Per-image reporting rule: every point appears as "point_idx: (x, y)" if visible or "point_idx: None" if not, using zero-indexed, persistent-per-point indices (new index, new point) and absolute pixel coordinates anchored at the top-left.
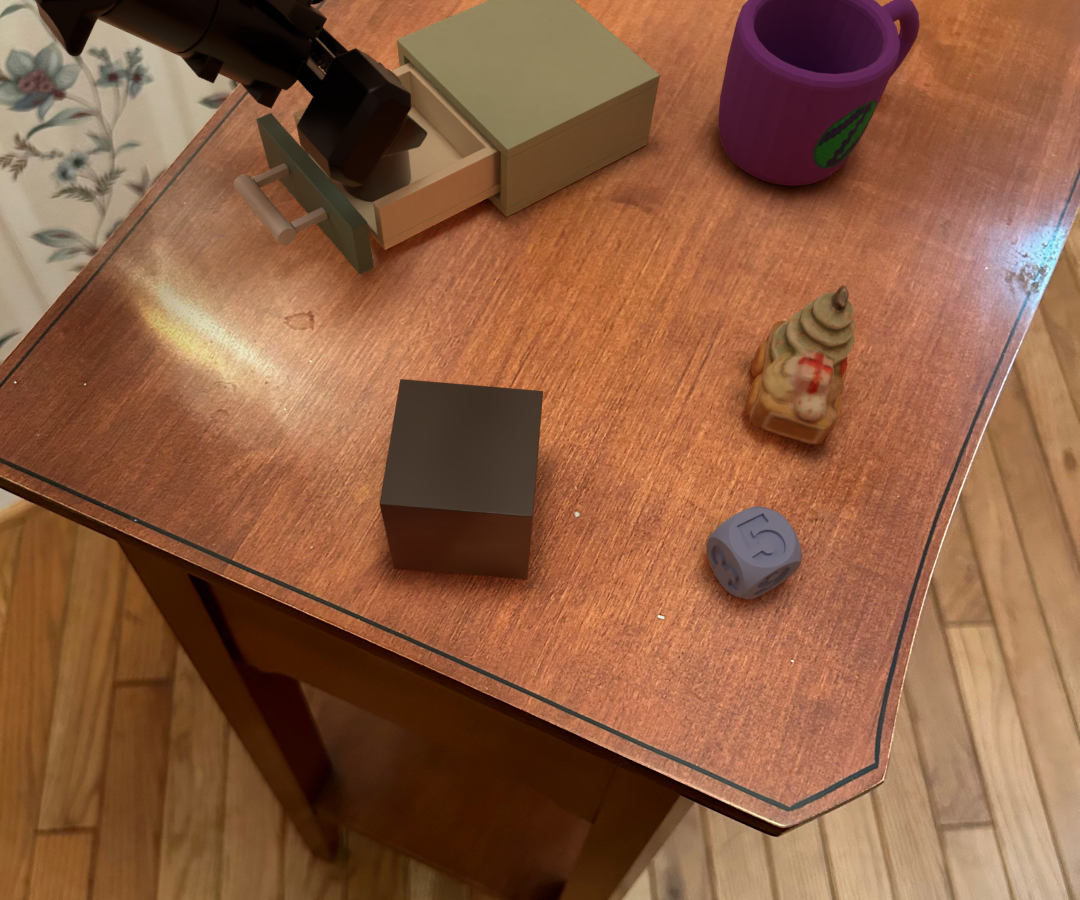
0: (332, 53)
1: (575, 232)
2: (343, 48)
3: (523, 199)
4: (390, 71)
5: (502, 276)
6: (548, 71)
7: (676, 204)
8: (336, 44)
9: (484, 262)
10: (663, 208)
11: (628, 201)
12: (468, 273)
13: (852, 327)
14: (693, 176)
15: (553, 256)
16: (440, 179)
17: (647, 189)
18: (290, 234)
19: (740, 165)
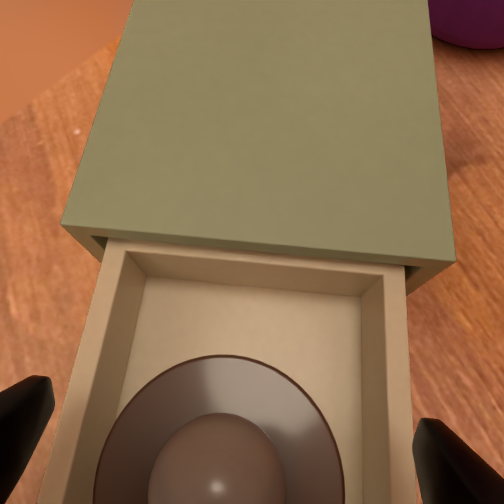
0: (15, 442)
1: (468, 250)
2: (27, 397)
3: None
4: (212, 359)
5: (494, 392)
6: (322, 89)
7: (488, 130)
8: (7, 422)
9: (454, 395)
10: (486, 144)
11: (454, 166)
12: (462, 433)
13: None
14: (457, 89)
15: (494, 304)
16: (411, 406)
17: (448, 137)
18: None
19: (491, 45)
